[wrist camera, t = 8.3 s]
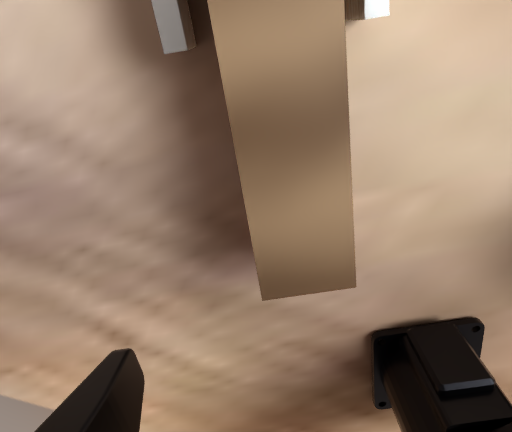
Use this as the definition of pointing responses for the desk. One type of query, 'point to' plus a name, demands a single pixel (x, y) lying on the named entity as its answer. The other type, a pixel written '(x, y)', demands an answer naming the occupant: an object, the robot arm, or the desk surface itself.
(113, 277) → the desk surface
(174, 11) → the bracket
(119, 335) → the desk surface
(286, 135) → the rail
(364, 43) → the desk surface
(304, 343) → the desk surface
